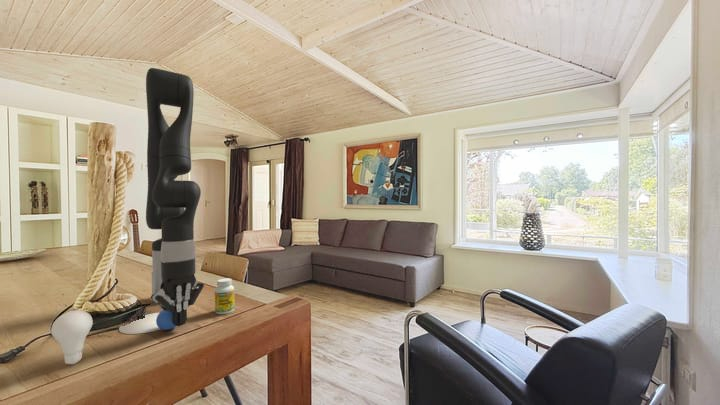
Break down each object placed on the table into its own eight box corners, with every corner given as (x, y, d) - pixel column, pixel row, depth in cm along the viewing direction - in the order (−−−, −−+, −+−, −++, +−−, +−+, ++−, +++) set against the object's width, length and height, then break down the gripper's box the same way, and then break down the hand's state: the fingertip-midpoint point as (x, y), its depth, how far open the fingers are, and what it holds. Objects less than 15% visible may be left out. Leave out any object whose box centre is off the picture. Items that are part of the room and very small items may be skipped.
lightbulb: (71, 356, 63) (69, 306, 63) (101, 355, 64) (100, 305, 64) (42, 373, 57) (41, 317, 57) (76, 371, 58) (75, 316, 57)
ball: (169, 333, 73) (155, 335, 75) (188, 321, 78) (175, 324, 80) (161, 312, 73) (148, 315, 75) (181, 302, 78) (168, 305, 80)
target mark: (107, 328, 77) (107, 327, 77) (162, 309, 90) (162, 308, 90) (138, 338, 71) (138, 337, 71) (192, 317, 84) (192, 316, 84)
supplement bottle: (232, 306, 92) (232, 276, 92) (236, 312, 87) (235, 280, 87) (214, 310, 89) (213, 279, 89) (216, 316, 84) (215, 283, 84)
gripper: (193, 252, 83) (194, 313, 83) (141, 261, 71) (143, 333, 71) (211, 254, 79) (212, 317, 79) (160, 264, 67) (162, 338, 67)
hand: (179, 324), depth 75 cm, fingers closed
